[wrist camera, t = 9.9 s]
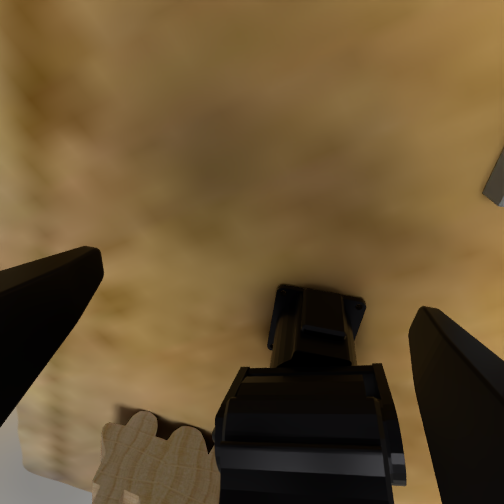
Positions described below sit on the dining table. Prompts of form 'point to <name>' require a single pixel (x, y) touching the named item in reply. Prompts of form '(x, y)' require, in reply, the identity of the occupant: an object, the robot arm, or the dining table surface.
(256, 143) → the dining table surface
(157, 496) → the toy train
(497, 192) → the dock
